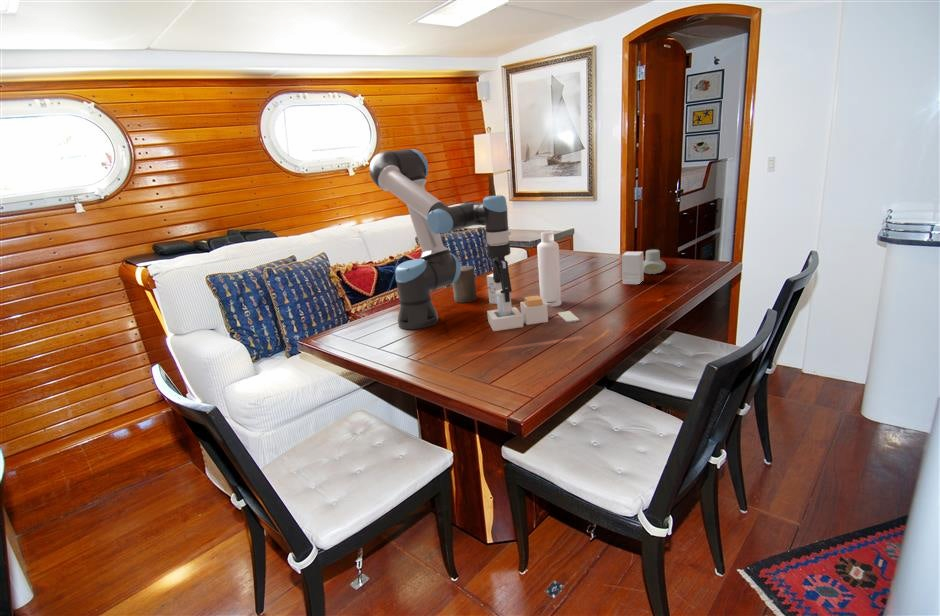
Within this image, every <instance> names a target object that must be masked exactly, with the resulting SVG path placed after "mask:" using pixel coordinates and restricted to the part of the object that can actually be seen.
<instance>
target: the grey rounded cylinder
mask: <svg viewBox="0 0 940 616" xmlns="http://www.w3.org/2000/svg"><path fill="white" fill-rule="evenodd" d="M501 291H502V289H501V290H497V291H496V295H497V304H496V305H497V309H498V317H503V316H510V315H511V311H505V312H504V311H503V300H502V293H501Z"/></svg>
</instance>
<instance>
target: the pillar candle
mask: <svg viewBox="0 0 940 616" xmlns="http://www.w3.org/2000/svg"><path fill="white" fill-rule="evenodd" d="M460 266H461V273H460V276H459V279H458V280H457V281H456V282H455V283H453V284H452V290H453V291H452V292H453V298H454V302H456V303H463V304H464V303H470V302H474V301H476V300H477V299H478V295H477V286H476V278H475V270H474V266H471V265H460Z"/></svg>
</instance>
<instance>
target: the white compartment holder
mask: <svg viewBox="0 0 940 616" xmlns="http://www.w3.org/2000/svg"><path fill="white" fill-rule="evenodd" d="M519 304H520V310H519V309H518V308H517V307H516V306H514V307H513V306H512V310H511V315H510V316H503V317H498V308H497V309H492V310H487V311H486V312H487V313H486V314H487V320H488V321H487V322H488V324H489V325H490V327H491V329H492V331H493V332H498V331H504V330H510V329H511V330H512V329H517V328H518V329H519V328H524V324H526V325H527V326H528V325H535V324H541V323H542V324H543V323H549V315H548V314H549V312H548V305H547V304H546V303H545V302H543V301H542V305H538V306H531V307H527V306H526V305H525V300H524V301H520V302H519Z"/></svg>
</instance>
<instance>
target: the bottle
mask: <svg viewBox="0 0 940 616" xmlns="http://www.w3.org/2000/svg"><path fill="white" fill-rule="evenodd" d="M554 234H555V233H554V231H552V230H551V231H550V230H548V231H547V230H546V231H542V232H540V240H541V241H540V242H539V243H538V244H537V245H536V247H537V249H536V251H537V267H538V269H537V270H538V281H539V282H538V284H539V297H540V298H542V301H543V302H545V303H546V304H547V306H549V307H550V308H554V307H559V306H560V305H562V288H561V287H562V285H561V262H560V247H559V246H560V245H559V243H558V242H557V241H555V235H554Z"/></svg>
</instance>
